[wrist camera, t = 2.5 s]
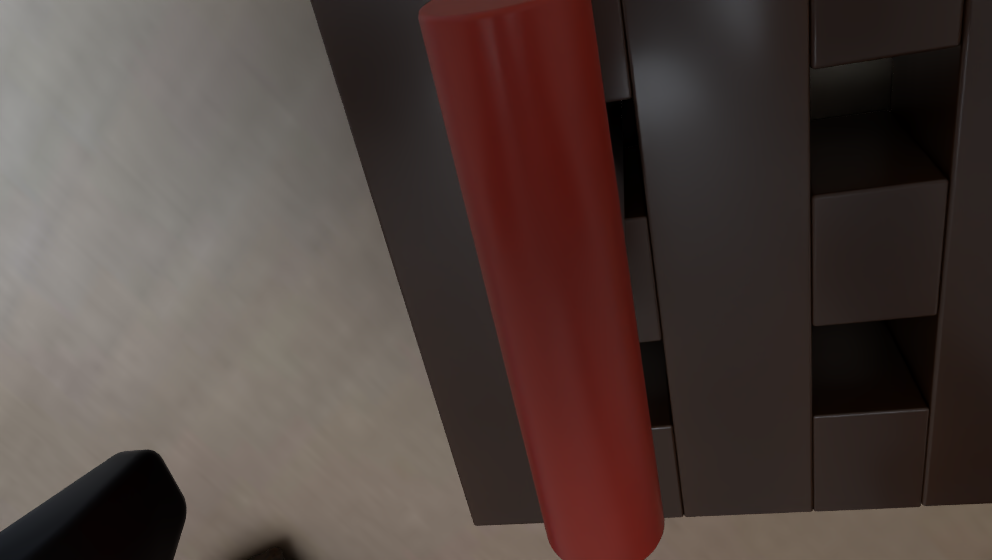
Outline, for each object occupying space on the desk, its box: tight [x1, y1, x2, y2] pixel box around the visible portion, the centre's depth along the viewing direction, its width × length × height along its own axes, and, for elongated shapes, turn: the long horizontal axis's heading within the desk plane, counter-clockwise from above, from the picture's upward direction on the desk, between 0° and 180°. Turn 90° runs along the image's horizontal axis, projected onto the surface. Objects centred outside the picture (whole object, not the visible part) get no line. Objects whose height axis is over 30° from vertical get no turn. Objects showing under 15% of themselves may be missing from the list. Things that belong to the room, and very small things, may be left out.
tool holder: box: [310, 0, 992, 526], centre depth 16 cm, size 13×13×4 cm
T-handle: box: [418, 0, 664, 560], centre depth 13 cm, size 2×8×9 cm, turn 12°
